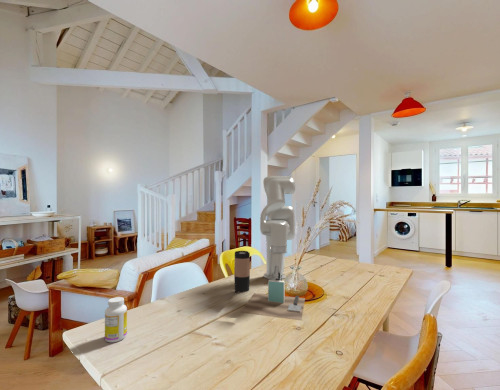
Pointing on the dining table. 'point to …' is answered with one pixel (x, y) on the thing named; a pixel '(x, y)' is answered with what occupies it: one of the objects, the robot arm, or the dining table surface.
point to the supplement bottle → (115, 320)
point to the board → (272, 307)
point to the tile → (276, 291)
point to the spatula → (294, 306)
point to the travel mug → (242, 271)
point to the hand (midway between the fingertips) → (278, 288)
